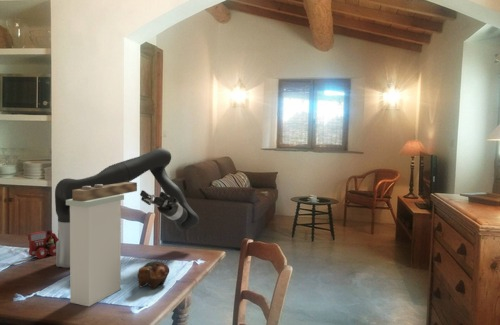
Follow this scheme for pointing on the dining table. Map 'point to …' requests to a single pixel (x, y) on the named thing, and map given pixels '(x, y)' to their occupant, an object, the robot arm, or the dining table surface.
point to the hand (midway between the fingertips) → (151, 193)
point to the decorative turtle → (153, 274)
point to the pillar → (95, 249)
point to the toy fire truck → (42, 243)
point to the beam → (103, 191)
